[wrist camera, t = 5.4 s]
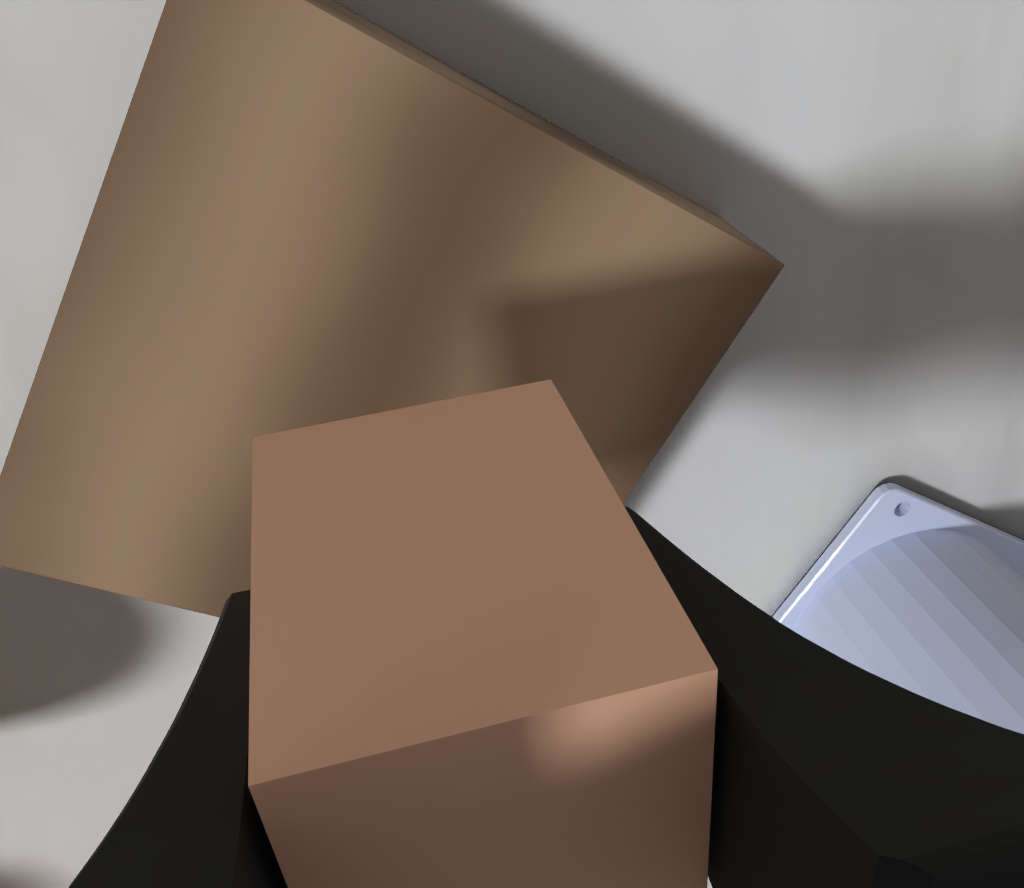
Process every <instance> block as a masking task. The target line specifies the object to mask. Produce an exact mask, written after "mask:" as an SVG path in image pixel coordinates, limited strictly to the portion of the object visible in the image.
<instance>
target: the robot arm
mask: <svg viewBox="0 0 1024 888" xmlns="http://www.w3.org/2000/svg"><path fill="white" fill-rule="evenodd" d="M900 503H901V504H900ZM899 504H900V505H899ZM898 505H899V506H898ZM896 506H898V507H896ZM625 509H626V510H627V512H628V514H629V516H630V517H631V519H632V521H633V523H634V524H635V526H636V528H637V529H638V531H639V533H640V535H641V536H642V538H643V540H644V542H645V543H646V545H647V547H648V549H649V550H650V552H651V554H652V556H653V557H654V559H655V561H656V562H657V564H658V566H659V568H660V569H661V571H662V573H663V575H664V576H665V578H666V580H667V582H668V583H669V585H670V587H671V589H672V590H673V592H674V594H675V595H676V597H677V599H678V601H679V602H680V604H681V606H682V608H683V609H684V611H685V613H686V615H687V616H688V618H689V620H690V622H691V623H692V625H693V627H694V628H695V630H696V632H697V634H698V635H699V637H700V639H701V641H702V642H703V644H704V646H705V648H706V649H707V651H708V653H709V654H710V656H711V658H712V660H713V661H714V663H715V665H716V667H717V668H718V677H717V698H716V718H715V738H714V758H713V778H712V798H711V818H710V838H709V858H708V877H709V880H710V882H711V885H712V887H713V888H1024V540H1022V539H1019V538H1017V537H1015V536H1013V535H1010V534H1008V533H1006V532H1003V531H1001V530H999V529H997V528H994V527H992V526H990V525H988V524H985V523H983V522H981V521H979V520H976V519H974V518H972V517H969V516H967V515H965V514H963V513H960V512H958V511H956V510H954V509H951V508H949V507H947V506H944V505H942V504H940V503H938V502H935V501H933V500H931V499H929V498H926V497H924V496H922V495H919V494H917V493H915V492H913V491H910V490H908V489H906V488H904V487H901V486H899V485H897V484H894V483H887V484H883V485H881V486H879V487H877V488H876V489H875V490H874V491H873V492H872V493H871V494H870V496H869V497H868V498H867V499H866V501H865V502H864V503H863V504H862V506H861V507H860V508H859V509H858V511H857V512H856V513H855V514H854V516H853V517H852V518H851V519H850V521H849V522H848V523H847V524H846V526H845V527H844V528H843V529H842V531H841V532H840V533H839V534H838V536H837V537H836V538H835V539H834V541H833V542H832V543H831V544H830V546H829V547H828V548H827V549H826V551H825V552H824V553H823V554H822V556H821V557H820V558H819V559H818V561H817V562H816V563H815V564H814V566H813V567H812V568H811V569H810V571H809V572H808V573H807V574H806V575H805V577H804V578H803V579H802V580H801V582H800V583H799V584H798V585H797V587H796V588H795V589H794V590H793V592H792V593H791V594H790V595H789V597H788V598H787V599H786V600H785V602H784V603H783V604H782V605H781V607H780V608H779V609H778V610H777V612H776V613H775V614H774V615H773V617H771V616H770V615H768V614H767V613H765V612H764V611H762V610H761V609H759V608H758V607H756V606H755V605H753V604H752V603H750V602H749V601H747V600H746V599H745V598H743V597H742V596H740V595H739V594H737V593H736V592H735V591H733V590H732V589H731V588H729V587H728V586H727V585H725V584H724V583H723V582H721V581H720V580H719V579H717V578H716V577H715V576H713V575H712V574H711V573H709V572H708V571H707V570H705V569H704V568H703V567H701V566H700V565H699V564H697V563H696V562H695V561H694V560H692V559H691V558H690V557H689V556H687V555H686V554H685V553H684V552H682V551H681V550H680V549H679V548H677V547H676V546H675V545H674V544H673V543H671V542H670V541H669V540H668V539H667V538H665V537H664V536H663V535H662V534H661V533H659V532H658V531H657V530H656V529H655V528H653V527H652V526H651V525H650V524H649V523H647V522H646V521H645V520H644V519H643V518H642V517H640V516H639V515H638V514H637V513H636V512H634V511H633V510H632V509H630V508H629V507H625ZM250 599H251V589H250V590H245V591H241V592H236V593H232V594H231V595H230V597H229V598H228V599H227V600H226V602H225V605H224V607H223V610H222V613H221V616H220V618H219V621H218V624H217V626H216V629H215V631H214V634H213V636H212V639H211V641H210V644H209V646H208V649H207V651H206V653H205V655H204V658H203V660H202V662H201V665H200V667H199V669H198V671H197V674H196V676H195V678H194V680H193V682H192V684H191V686H190V688H189V690H188V692H187V695H186V697H185V699H184V701H183V703H182V705H181V707H180V709H179V711H178V713H177V715H176V717H175V719H174V721H173V723H172V725H171V727H170V729H169V731H168V733H167V734H166V736H165V738H164V740H163V742H162V743H161V745H160V747H159V749H158V751H157V752H156V754H155V756H154V758H153V760H152V762H151V763H150V765H149V767H148V769H147V771H146V772H145V774H144V776H143V778H142V779H141V781H140V783H139V784H138V786H137V788H136V789H135V791H134V792H133V794H132V796H131V797H130V799H129V801H128V802H127V804H126V805H125V807H124V809H123V810H122V812H121V813H120V815H119V816H118V818H117V819H116V821H115V822H114V824H113V825H112V827H111V828H110V830H109V831H108V833H107V834H106V836H105V837H104V839H103V840H102V842H101V843H100V845H99V846H98V848H97V849H96V851H95V852H94V853H93V855H92V856H91V857H90V859H89V860H88V862H87V863H86V864H85V866H84V867H83V868H82V870H81V871H80V872H79V874H78V875H77V877H76V878H75V879H74V881H73V882H72V883H71V885H70V886H69V888H288V887H287V884H286V881H285V879H284V876H283V874H282V871H281V869H280V866H279V864H278V861H277V858H276V856H275V853H274V851H273V848H272V846H271V843H270V841H269V838H268V835H267V833H266V830H265V828H264V825H263V823H262V820H261V818H260V815H259V812H258V810H257V807H256V805H255V802H254V800H253V797H252V795H251V792H250V789H249V787H248V758H249V679H250Z"/></svg>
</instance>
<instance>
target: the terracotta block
mask: <svg viewBox="0 0 1024 888" xmlns="http://www.w3.org/2000/svg"><path fill="white" fill-rule="evenodd" d="M717 677H718V668H717V667H716V665H715V663H714V661H713V660H712V658H711V656H710V654H709V653H708V651H707V649H706V648H705V646H704V644H703V642H702V641H701V639H700V637H699V635H698V634H697V632H696V630H695V628H694V627H693V625H692V623H691V622H690V620H689V618H688V616H687V615H686V613H685V611H684V609H683V608H682V606H681V604H680V602H679V601H678V599H677V597H676V595H675V594H674V592H673V590H672V589H671V587H670V585H669V583H668V582H667V580H666V578H665V576H664V575H663V573H662V571H661V569H660V568H659V566H658V564H657V562H656V561H655V559H654V557H653V556H652V554H651V552H650V550H649V549H648V547H647V545H646V543H645V542H644V540H643V538H642V536H641V535H640V533H639V531H638V529H637V528H636V526H635V524H634V523H633V521H632V519H631V517H630V516H629V514H628V512H627V510H626V509H625V507H624V505H623V503H622V502H621V500H620V498H619V496H618V495H617V493H616V491H615V490H614V488H613V486H612V484H611V483H610V481H609V479H608V477H607V476H606V474H605V472H604V470H603V469H602V467H601V465H600V464H599V462H598V460H597V458H596V457H595V455H594V453H593V451H592V450H591V448H590V446H589V444H588V443H587V441H586V439H585V437H584V436H583V434H582V432H581V431H580V429H579V427H578V425H577V424H576V422H575V420H574V418H573V417H572V415H571V413H570V411H569V410H568V408H567V406H566V404H565V403H564V401H563V399H562V398H561V396H560V394H559V392H558V391H557V389H556V387H555V385H554V384H553V382H552V380H551V379H550V380H545V381H540V382H534V383H529V384H524V385H519V386H514V387H509V388H504V389H498V390H493V391H488V392H483V393H478V394H473V395H468V396H462V397H457V398H452V399H447V400H442V401H437V402H431V403H426V404H421V405H416V406H411V407H406V408H401V409H395V410H390V411H385V412H380V413H375V414H370V415H365V416H359V417H354V418H349V419H344V420H339V421H334V422H329V423H323V424H318V425H313V426H308V427H303V428H298V429H292V430H287V431H282V432H277V433H272V434H267V435H262V436H256V437H253V440H252V520H251V599H250V679H249V758H248V787H249V789H250V792H251V795H252V797H253V800H254V802H255V805H256V807H257V810H258V812H259V815H260V818H261V820H262V823H263V825H264V828H265V830H266V833H267V835H268V838H269V841H270V843H271V846H272V848H273V851H274V853H275V856H276V858H277V861H278V864H279V866H280V869H281V871H282V874H283V876H284V879H285V881H286V884H287V887H288V888H707V878H708V858H709V838H710V818H711V798H712V778H713V758H714V738H715V718H716V698H717Z"/></svg>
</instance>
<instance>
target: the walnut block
mask: <svg viewBox="0 0 1024 888" xmlns="http://www.w3.org/2000/svg"><path fill="white" fill-rule="evenodd" d="M783 267H784V264H782V263H781V262H780V261H778V260H777V259H776V258H774V257H773V256H772V255H770V254H769V253H768V252H766V251H765V250H764V249H762V248H761V247H759V246H758V245H757V244H755V243H754V242H753V241H751V240H750V239H749V238H747V237H746V236H745V235H743V234H742V233H741V232H739V231H738V230H737V229H735V228H734V227H733V226H731V225H730V224H729V223H727V222H726V221H725V220H723V219H722V218H720V217H718V216H716V215H715V214H713V213H711V212H709V211H708V210H706V209H704V208H702V207H700V206H699V205H697V204H695V203H693V202H691V201H690V200H688V199H686V198H684V197H682V196H681V195H679V194H677V193H675V192H674V191H672V190H670V189H668V188H666V187H665V186H663V185H661V184H659V183H657V182H656V181H654V180H652V179H650V178H649V177H647V176H645V175H643V174H641V173H640V172H638V171H636V170H634V169H632V168H631V167H629V166H627V165H625V164H623V163H622V162H620V161H618V160H616V159H615V158H613V157H611V156H609V155H607V154H606V153H604V152H602V151H600V150H598V149H597V148H595V147H593V146H591V145H589V144H588V143H586V142H584V141H582V140H581V139H579V138H577V137H575V136H573V135H572V134H570V133H568V132H566V131H564V130H563V129H561V128H559V127H557V126H556V125H554V124H552V123H550V122H548V121H547V120H545V119H543V118H541V117H539V116H538V115H536V114H534V113H532V112H530V111H529V110H527V109H525V108H523V107H522V106H520V105H518V104H516V103H514V102H513V101H511V100H509V99H507V98H505V97H504V96H502V95H500V94H498V93H496V92H495V91H493V90H491V89H489V88H488V87H486V86H484V85H482V84H480V83H479V82H477V81H475V80H473V79H471V78H470V77H468V76H466V75H464V74H463V73H461V72H459V71H457V70H455V69H454V68H452V67H450V66H448V65H446V64H445V63H443V62H441V61H439V60H437V59H436V58H434V57H432V56H430V55H429V54H427V53H425V52H423V51H421V50H420V49H418V48H416V47H414V46H412V45H411V44H409V43H407V42H405V41H403V40H402V39H400V38H398V37H396V36H395V35H393V34H391V33H389V32H387V31H386V30H384V29H382V28H380V27H378V26H377V25H375V24H373V23H371V22H370V21H368V20H366V19H364V18H362V17H361V16H359V15H357V14H355V13H353V12H352V11H350V10H348V9H346V8H344V7H343V6H341V5H339V4H337V3H336V2H334V1H332V0H167V1H166V4H165V6H164V9H163V12H162V15H161V18H160V21H159V24H158V26H157V29H156V32H155V35H154V38H153V41H152V44H151V46H150V49H149V52H148V55H147V58H146V61H145V64H144V66H143V69H142V72H141V75H140V78H139V81H138V84H137V87H136V89H135V92H134V95H133V98H132V101H131V104H130V107H129V109H128V112H127V115H126V118H125V121H124V124H123V127H122V129H121V132H120V135H119V138H118V141H117V144H116V147H115V149H114V152H113V155H112V158H111V161H110V164H109V167H108V169H107V172H106V175H105V178H104V181H103V184H102V187H101V189H100V192H99V195H98V198H97V201H96V204H95V207H94V210H93V212H92V215H91V218H90V221H89V224H88V227H87V230H86V232H85V235H84V238H83V241H82V244H81V247H80V250H79V252H78V255H77V258H76V261H75V264H74V267H73V270H72V272H71V275H70V278H69V281H68V284H67V287H66V290H65V292H64V295H63V298H62V301H61V304H60V307H59V310H58V312H57V315H56V318H55V321H54V324H53V327H52V330H51V332H50V335H49V338H48V341H47V344H46V347H45V350H44V353H43V355H42V358H41V361H40V364H39V367H38V370H37V373H36V375H35V378H34V381H33V384H32V387H31V390H30V393H29V395H28V398H27V401H26V404H25V407H24V410H23V413H22V415H21V418H20V421H19V424H18V427H17V430H16V433H15V435H14V438H13V441H12V444H11V447H10V450H9V453H8V455H7V458H6V461H5V464H4V467H3V470H2V473H1V476H0V566H3V567H8V568H12V569H16V570H20V571H25V572H29V573H33V574H37V575H42V576H46V577H50V578H54V579H59V580H63V581H67V582H72V583H76V584H80V585H84V586H89V587H93V588H97V589H101V590H106V591H110V592H114V593H118V594H123V595H127V596H131V597H135V598H140V599H144V600H148V601H152V602H157V603H161V604H165V605H170V606H174V607H178V608H182V609H187V610H191V611H195V612H199V613H204V614H208V615H212V616H216V617H220V616H221V613H222V610H223V607H224V605H225V602H226V600H227V599H228V598H229V597H230V595H231V594H232V593H236V592H241V591H245V590H250V589H251V520H252V440H253V437H256V436H262V435H267V434H272V433H277V432H282V431H287V430H292V429H298V428H303V427H308V426H313V425H318V424H323V423H329V422H334V421H339V420H344V419H349V418H354V417H359V416H365V415H370V414H375V413H380V412H385V411H390V410H395V409H401V408H406V407H411V406H416V405H421V404H426V403H431V402H437V401H442V400H447V399H452V398H457V397H462V396H468V395H473V394H478V393H483V392H488V391H493V390H498V389H504V388H509V387H514V386H519V385H524V384H529V383H534V382H540V381H545V380H550V379H551V380H552V382H553V384H554V385H555V387H556V389H557V391H558V392H559V394H560V396H561V398H562V399H563V401H564V403H565V404H566V406H567V408H568V410H569V411H570V413H571V415H572V417H573V418H574V420H575V422H576V424H577V425H578V427H579V429H580V431H581V432H582V434H583V436H584V437H585V439H586V441H587V443H588V444H589V446H590V448H591V450H592V451H593V453H594V455H595V457H596V458H597V460H598V462H599V464H600V465H601V467H602V469H603V470H604V472H605V474H606V476H607V477H608V479H609V481H610V483H611V484H612V486H613V488H614V490H615V491H616V493H617V495H618V496H619V498H620V500H621V502H622V503H624V501H625V500H626V498H627V497H628V495H629V494H630V493H631V491H632V490H633V488H634V487H635V485H636V484H637V482H638V481H639V479H640V478H641V476H642V475H643V473H644V472H645V470H646V469H647V467H648V466H649V464H650V463H651V461H652V460H653V459H654V457H655V456H656V454H657V453H658V451H659V450H660V448H661V447H662V445H663V444H664V442H665V441H666V439H667V438H668V436H669V435H670V433H671V432H672V430H673V429H674V428H675V426H676V425H677V423H678V422H679V420H680V419H681V417H682V416H683V414H684V413H685V411H686V410H687V408H688V407H689V405H690V404H691V402H692V401H693V399H694V398H695V397H696V395H697V394H698V392H699V391H700V389H701V388H702V386H703V385H704V383H705V382H706V380H707V379H708V377H709V376H710V374H711V373H712V371H713V370H714V368H715V367H716V366H717V364H718V363H719V361H720V360H721V358H722V357H723V355H724V354H725V352H726V351H727V349H728V348H729V346H730V345H731V343H732V342H733V340H734V339H735V337H736V336H737V334H738V333H739V332H740V330H741V329H742V327H743V326H744V324H745V323H746V321H747V320H748V318H749V317H750V315H751V314H752V312H753V311H754V309H755V308H756V306H757V305H758V303H759V302H760V301H761V299H762V298H763V296H764V295H765V293H766V292H767V290H768V289H769V287H770V286H771V284H772V283H773V281H774V280H775V278H776V277H777V275H778V274H779V272H780V271H781V270H782V268H783Z"/></svg>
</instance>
